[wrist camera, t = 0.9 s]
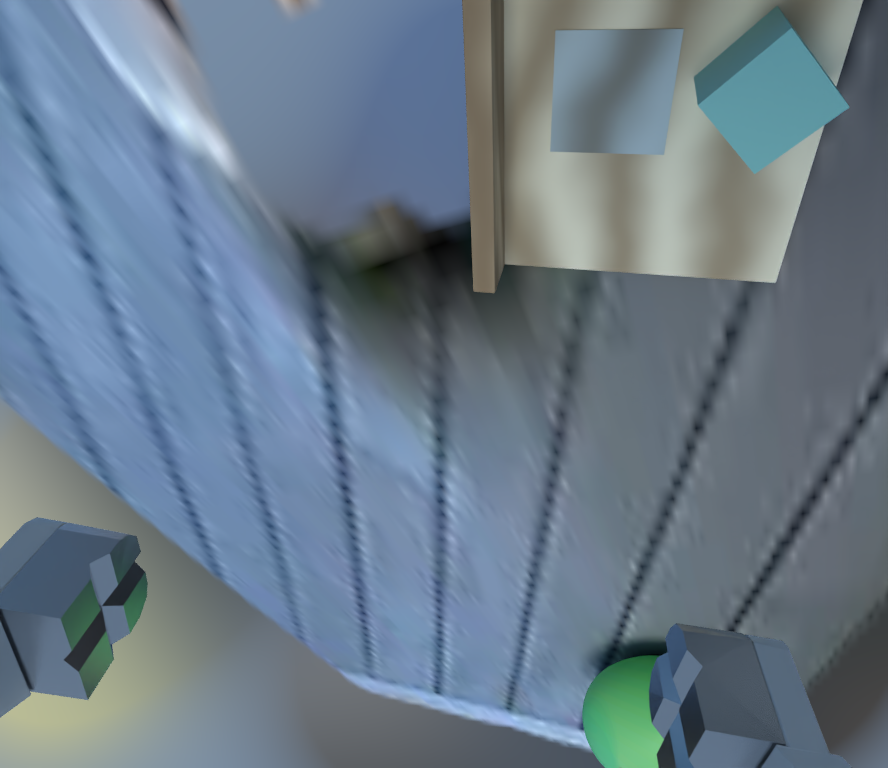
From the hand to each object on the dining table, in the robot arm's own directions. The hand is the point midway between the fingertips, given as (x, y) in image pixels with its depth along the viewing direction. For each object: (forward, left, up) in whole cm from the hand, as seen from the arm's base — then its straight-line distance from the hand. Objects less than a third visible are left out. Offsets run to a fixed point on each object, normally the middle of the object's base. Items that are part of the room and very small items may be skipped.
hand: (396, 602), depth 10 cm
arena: (-4, +6, -38) cm, 38 cm away
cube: (-10, +3, -37) cm, 38 cm away
